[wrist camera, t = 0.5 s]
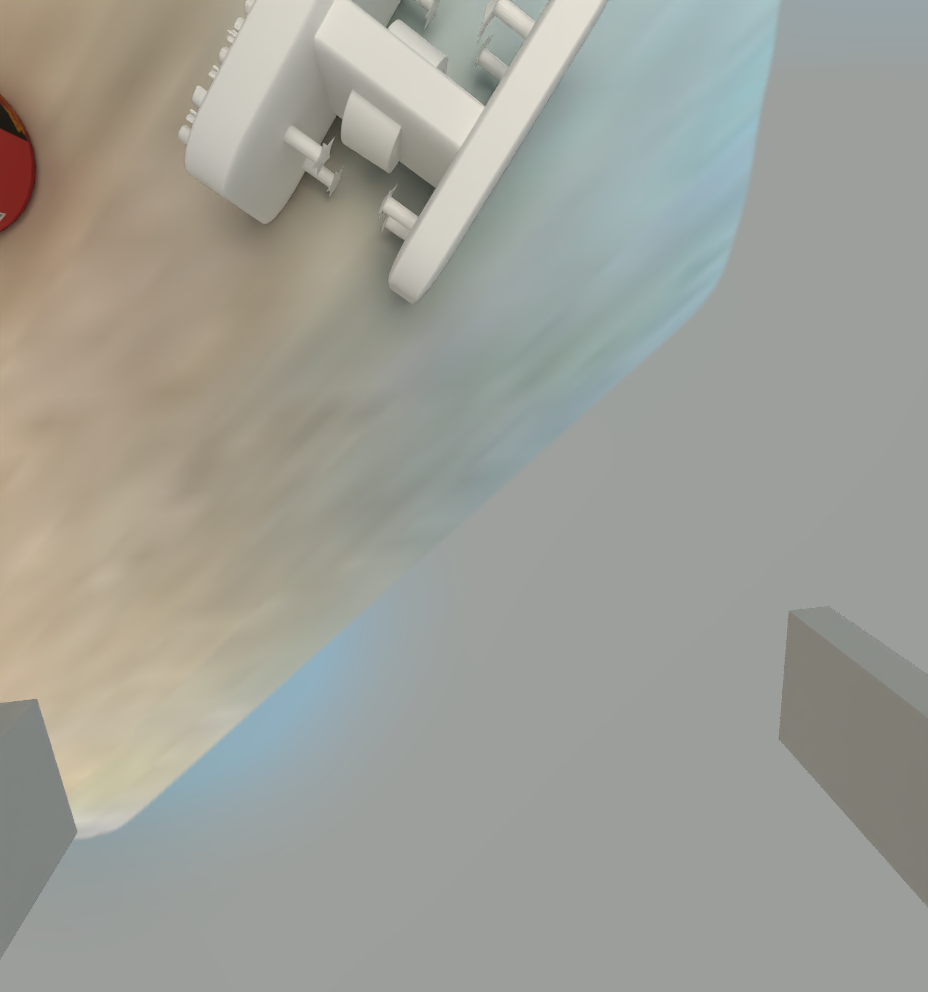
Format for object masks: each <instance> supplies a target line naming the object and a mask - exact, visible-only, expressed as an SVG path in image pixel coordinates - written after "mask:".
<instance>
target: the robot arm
mask: <svg viewBox="0 0 928 992" xmlns="http://www.w3.org/2000/svg"><path fill="white" fill-rule="evenodd" d="M779 740H780V741H781V742H782V743H783V744H784V745H785V747H786V748H787V749H788V750H789V751H790V752H791V753H792V754H793V756H794V757H795V758H796V759H797V760H798V761H799V762H800V764H801V765H802V766H803V767H804V768H805V769H806V770H807V771H808V773H809V774H810V775H811V776H812V777H813V778H814V779H815V780H816V782H817V783H818V784H819V785H820V786H821V787H822V788H823V789H824V791H825V792H826V793H827V794H828V795H829V796H830V797H831V798H832V800H833V801H834V802H835V803H836V804H837V805H838V806H839V807H840V809H841V810H842V811H843V812H844V813H845V814H846V815H847V817H848V818H849V819H850V820H851V821H852V822H853V823H854V824H855V825H856V827H857V828H858V829H859V830H860V831H861V832H862V833H863V835H864V836H865V837H866V838H867V839H868V840H869V841H870V842H871V844H872V845H873V846H874V847H875V848H876V849H877V850H878V851H879V853H880V854H881V855H882V856H883V857H884V858H885V859H886V861H887V862H888V863H889V864H890V865H891V866H892V867H893V868H894V870H895V871H896V872H897V873H898V874H899V875H900V876H901V877H902V878H903V880H904V881H905V882H906V883H907V884H908V885H909V886H910V888H911V889H912V890H913V891H914V892H915V893H916V894H917V895H918V897H919V898H920V899H921V900H922V901H923V902H924V903H925V904H926V905H927V907H928V674H927V673H925V672H924V671H922V670H921V669H919V668H918V667H916V666H915V665H914V664H912V663H911V662H909V661H908V660H906V659H905V658H904V657H902V656H900V655H899V654H898V653H896V652H895V651H893V650H892V649H890V648H889V647H888V646H886V645H885V644H883V643H882V642H880V641H879V640H877V639H876V638H875V637H873V636H872V635H870V634H869V633H867V632H866V631H864V630H863V629H862V628H860V627H858V626H857V625H856V624H854V623H853V622H851V621H850V620H848V619H847V618H846V617H844V616H842V615H841V614H840V613H838V612H836V611H835V610H834V609H832V608H831V607H829V606H825V607H816V608H807V609H799V610H790V611H789V615H788V628H787V640H786V653H785V666H784V680H783V691H782V703H781V717H780V729H779ZM76 834H77V829H76V826H75V823H74V819H73V816H72V813H71V809H70V806H69V803H68V800H67V796H66V793H65V790H64V786H63V783H62V780H61V776H60V773H59V770H58V767H57V763H56V760H55V757H54V753H53V750H52V747H51V744H50V740H49V737H48V734H47V730H46V727H45V724H44V720H43V717H42V714H41V711H40V707H39V704H38V701H37V699H32V700H23V701H15V702H6V703H0V959H1V957H2V956H3V954H4V952H5V951H6V949H7V948H8V946H9V944H10V943H11V941H12V939H13V938H14V936H15V934H16V932H17V931H18V929H19V928H20V926H21V924H22V923H23V921H24V920H25V918H26V916H27V914H28V913H29V911H30V910H31V908H32V906H33V905H34V903H35V901H36V900H37V898H38V896H39V895H40V893H41V892H42V890H43V888H44V887H45V885H46V883H47V881H48V880H49V878H50V877H51V875H52V873H53V872H54V870H55V868H56V867H57V865H58V864H59V862H60V860H61V858H62V857H63V855H64V854H65V852H66V850H67V849H68V847H69V845H70V844H71V842H72V840H73V839H74V837H75V836H76Z"/></svg>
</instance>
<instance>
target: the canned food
mask: <svg viewBox="0 0 928 992" xmlns="http://www.w3.org/2000/svg"><path fill="white" fill-rule="evenodd" d="M34 183H35V160H34V153H33V148H32V145H31V142H30V139H29V136H28V134H27V132H26V130H25V128H24V126H23V124H22V123H21V121H20V119H19V118H18V116H17V115H16V113H15V112H14V111H13V109H12V108H11V107H10V105H9V104H8V103H7V101H6V100H5V99H4V98H3V96H2V95H0V231H3V230H5V229H6V228H7V227H9V226H10V225H11V224H12V223H14V222H15V221H16V220H17V219H18V217H19V216H20V215H21V214H22V213H23V211H24V210H25V208H26V206H27V204H28V202H29V200H30V198H31V195H32V191H33V187H34Z"/></svg>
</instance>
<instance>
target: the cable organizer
mask: <svg viewBox="0 0 928 992" xmlns="http://www.w3.org/2000/svg"><path fill="white" fill-rule="evenodd" d="M400 1H401V0H247V1H246V3H245V14H246V18H245V19H244V18H243V17H239V18H238V19H237V20H236V22H235V25H234V28H236V29H237V30H238V32H236V31H235V30H233V29H232V30H231V31H230V30H229V29H228V33H229V36H228V38H227V41H228V42H230V43H231V44H232V45H231V47H230V48H228V47H227V46H224V47H223V48H222V49H221V51H220V54H219V63H220V65H221V66H220V68H218V67H217V66H215V65H213V69H214V70H211V71H210V72H209V76H210V77H211V78H213V81H212V83H211V85H210V87H209V89H208V91H206V90H205V89H203V88H202V87H200V86H199V85H198V86H197V88H196V90H195V92H194V94H193V97H192V102H193V104H194V105H195V106H197V107H198V108H199V109H198V112H197V113H196V112H195V111H194V110H192V109H191V110H190V112H191V114H188V115H187V117H186V120H188V121H189V122H191V123H192V127H190V126H188V125H183V126H182V127H181V129H180V131H179V134H178V137H179V140H180V142H182V143H183V144H185V145H186V150H185V168H186V171H187V172H188V174H189V175H191V176H192V177H194V178H195V179H197V180H198V181H200V182H201V183H203V184H204V185H206V186H207V187H209V188H210V189H212V190H213V191H215V192H216V193H218V194H219V195H220V196H222V197H223V198H225V199H226V200H228V201H229V202H231V203H232V204H234V205H235V206H237V207H238V208H240V209H241V210H243V211H244V212H246V213H247V214H249V215H250V216H252V217H253V218H255V219H256V220H258V221H259V222H261V223H262V224H267V223H269V222H270V221H272V220H273V219H274V218H275V217H276V216H277V215H278V214H279V212H280V211H281V210H282V209H283V207H284V206H285V205H286V203H287V202H288V200H289V199H290V197H291V196H292V194H293V192H294V191H295V189H296V187H297V185H298V184H299V182H300V180H301V178H302V176H303V175H304V173H305V171H306V172H308V173H309V174H311V175H312V176H313V177H315V178H316V179H318V180H319V181H320V182H322V183H323V184H325V185H326V186H328V187H329V188H328V190H327V191H326V192H328V191H330V195H329V197H330V196H331V194H332V193H333V191H334V190H335V188H336V186H337V185H338V184H339V182H340V177H341V174H342V172H343V169H344V166H345V165H344V166H343V168H342V169H341V170H340V172H339V173H338V172H337V171H336V172H335V174H334V173H333V172H331V171H330V170H329V169H327V168H326V167H324V166H323V165H324V163H325V162H326V160H328V159H329V158H330V154H329V152H330V149H331V146H332V143H333V140H334V138H335V137H334V138H333V139H332V140H331V142H330V143H329V144H328V145H326V144H325V143H323V146H321V145H320V144H321V142H322V141H323V139H324V137H325V135H326V134H327V132H328V130H329V128H330V126H331V125H332V123H333V121H334V119H335V117H336V116H339V117H340V118H341V119H343V120H342V126H341V140H342V143H343V144H344V145H346V146H347V147H349V148H350V149H352V150H354V151H355V152H357V153H358V154H360V155H361V156H363V157H364V158H366V159H367V160H369V161H370V162H372V163H373V164H375V165H377V166H378V167H380V168H381V169H383V170H384V171H386V172H387V173H390V172H392V170H393V169H394V168H395V167H396V165H397V164H398V162H399V161H400V162H401V163H402V164H404V165H405V166H406V167H408V168H409V169H410V170H412V171H413V172H415V173H416V174H417V175H419V176H420V177H421V178H423V179H424V180H425V181H427V182H428V183H429V184H431V185H432V186H434V187H435V188H436V189H435V190H434V192H433V194H432V195H431V197H430V199H429V200H428V202H427V204H426V205H425V207H424V209H423V210H422V212H421V214H420V215H419V217H418V216H417V215H416V214H414V213H413V212H411V211H410V210H409V209H407V208H406V207H404V206H403V205H402V204H400V203H399V202H397V201H396V200H395V199H393V198H392V194H393V192H394V190H395V189H396V187H397V185H398V184H397V185H396V186H395V187H394V188H393V189H392V190H390V191H389V193H388V194H387V196H386V197H385V198H384V200H383V202H382V205H381V207H380V209H379V212H378V214H379V213H380V215H379V218H380V216H381V215H382V213H383V212H384V213H386V214H387V216H386V217H385V220H384V222H383V225H382V227H381V229H382V228H383V229H382V232H383V230H384V228H385V227H386V228H387V229H389V230H390V231H391V232H393V233H394V234H396V235H397V236H399V237H400V238H401V239H403V240H404V243H403V245H402V247H401V249H400V251H399V253H398V255H397V257H396V259H395V261H394V263H393V266H392V268H391V271H390V274H389V277H388V283H389V287H390V289H391V290H392V291H394V292H395V293H397V294H398V295H399V296H401V297H402V298H404V299H405V300H407V301H408V302H410V303H414V302H416V301H417V300H418V299H420V298H421V297H422V296H423V295H424V294H425V293H426V291H427V290H428V289H429V288H430V287H431V285H432V284H433V283H434V281H435V280H436V279H437V277H438V276H439V274H440V273H441V272H442V270H443V269H444V267H445V266H446V264H447V263H448V261H449V260H450V258H451V256H452V255H453V253H454V252H455V250H456V248H457V247H458V245H459V244H460V242H461V240H462V239H463V237H464V235H465V234H466V232H467V231H468V229H469V227H470V226H471V224H472V223H473V221H474V219H475V218H476V216H477V214H478V213H479V211H480V210H481V208H482V206H483V205H484V203H485V202H486V200H487V198H488V197H489V195H490V193H491V192H492V190H493V189H494V187H495V185H496V184H497V182H498V181H499V179H500V177H501V176H502V174H503V172H504V171H505V169H506V168H507V166H508V164H509V163H510V161H511V160H512V158H513V156H514V155H515V153H516V152H517V150H518V148H519V147H520V145H521V143H522V142H523V140H524V139H525V137H526V135H527V134H528V132H529V131H530V129H531V127H532V126H533V124H534V122H535V121H536V119H537V118H538V116H539V114H540V113H541V111H542V110H543V108H544V106H545V105H546V103H547V101H548V100H549V98H550V97H551V95H552V93H553V92H554V90H555V89H556V87H557V85H558V84H559V82H560V80H561V79H562V77H563V76H564V74H565V72H566V71H567V69H568V68H569V66H570V64H571V63H572V61H573V59H574V58H575V56H576V55H577V53H578V51H579V50H580V48H581V47H582V45H583V43H584V42H585V40H586V38H587V37H588V35H589V34H590V32H591V30H592V29H593V27H594V25H595V24H596V22H597V20H598V19H599V17H600V15H601V14H602V12H603V10H604V8H605V6H606V5H607V3H608V1H609V0H549V1H548V3H547V4H546V6H545V8H544V9H543V11H542V13H541V14H540V16H539V18H538V19H537V21H536V22H535V21H534V20H533V19H532V18H530V17H529V16H528V15H527V14H525V13H524V12H523V11H522V10H521V9H519V8H518V7H517V6H516V5H514V4H513V3H512V2H511V1H509V0H491V1H490V3H489V4H488V5H487V6H486V10H485V14H484V18H483V22H482V25H481V29H480V33H479V37H478V41H479V39H480V38H481V36H482V34H483V32H484V31H485V29H486V27H487V25H488V24H489V22H490V21H491V20H492V19H493V18H494V16H496V17H497V18H499V19H500V20H501V21H502V22H504V23H505V24H506V25H507V26H509V27H510V28H511V29H512V30H514V31H515V32H516V33H517V34H519V35H520V36H521V37H522V38H524V39H525V41H524V43H523V44H522V46H521V48H520V49H519V51H518V53H517V54H516V56H515V58H514V59H513V61H512V62H511V64H510V66H509V67H508V66H507V65H506V64H504V63H503V62H502V61H501V60H500V59H498V58H497V57H496V56H495V55H493V54H492V53H491V52H490V51H488V50H487V49H486V47H487V45H488V44H489V42H490V40H491V38H492V36H493V35H492V36H491V38H490V39H489V37H490V36H489V37H488V39H487V40H486V42H485V43H484V45H483V46H482V47H481V49H480V51H479V53H478V56H477V59H476V63H475V66H474V69H475V67H476V65H477V64H479V65H480V66H482V67H483V68H484V69H485V70H487V71H488V72H489V73H490V74H492V75H493V76H494V77H495V78H497V79H498V80H499V81H500V82H499V84H498V86H497V87H496V89H495V91H494V92H493V94H492V96H491V97H490V99H489V101H488V102H487V104H486V106H484V105H483V104H482V103H481V102H480V101H478V100H477V99H476V98H475V97H473V96H472V95H471V94H469V93H468V92H467V91H466V90H464V89H463V88H462V87H461V86H459V85H458V84H457V83H455V82H454V81H453V80H452V79H450V78H449V77H448V76H447V75H445V73H446V70H447V65H448V58H447V57H446V56H445V55H444V54H443V53H441V52H440V51H439V50H437V49H436V48H435V47H434V46H432V45H431V44H430V43H429V42H427V41H426V40H425V39H424V38H422V37H421V36H420V35H419V34H417V33H416V32H415V31H414V30H412V29H411V28H410V27H409V26H407V25H406V24H405V23H404V22H402V21H401V20H396V21H394V22H393V23H392V24H391V25H390V26H389V28H388V29H387V28H386V26H387V25H388V23H389V21H390V19H391V17H392V16H393V14H394V12H395V10H396V9H397V7H398V5H399V3H400ZM414 1H416V2H417V3H418V4H419V5H421V6H422V7H423V8H424V9H425V10H427V11H428V13H427V14H426V16H425V17H426V18H427V22H426V25H425V28H426V27H427V25H428V24H429V22H430V20H431V19H432V17H433V16H434V15H435V13H436V10H437V7H438V5H439V2H440V0H414ZM425 28H424V30H425ZM423 32H424V31H423ZM478 41H477V43H478ZM474 69H473V71H474ZM398 183H399V182H398ZM378 214H377V215H378ZM378 220H379V219H378ZM382 232H381V233H382Z"/></svg>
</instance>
